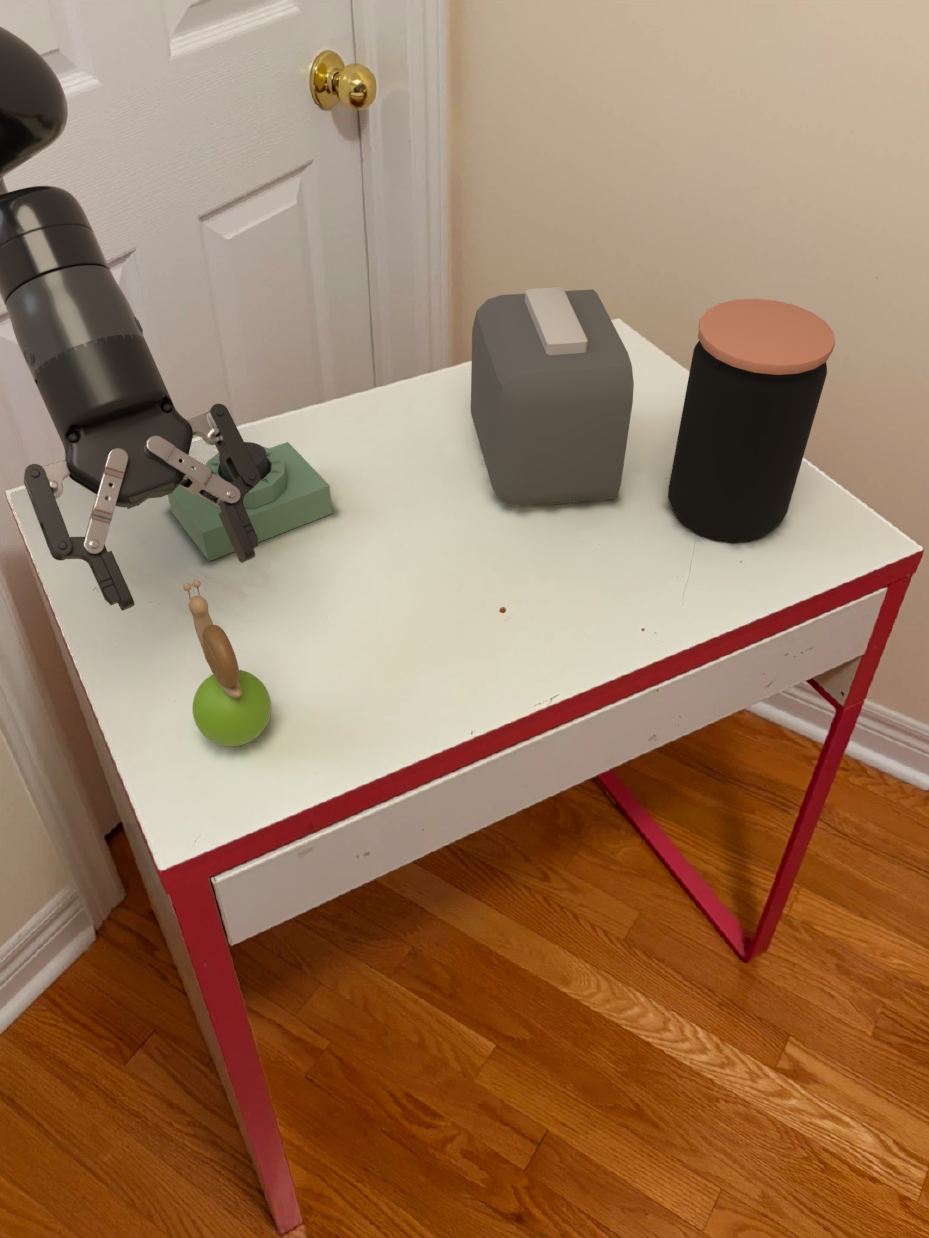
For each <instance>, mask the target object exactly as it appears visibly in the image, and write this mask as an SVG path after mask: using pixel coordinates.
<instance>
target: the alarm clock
mask: <svg viewBox="0 0 929 1238" xmlns="http://www.w3.org/2000/svg"><path fill="white" fill-rule="evenodd" d="M608 313H609V312H607V309H606V308H605V306H604V304H603V302H602V300H601V298H600V296H599V294H598V292H597V291H595V290H594V289H593V288H592V289H591V288H590V289H578V290H577V289H576V290H575V289H573V290H565V289H564V288H563V287H561V286H559V287H558V286H557V287H542V288H527V289H526V290H525V292H524V293H513V294H510V293H509V294H500V295H497V296H494V297H491V298H488V299H487V300H485V301H484V302H483V303H482V304H481V306H480V307H479V308H477V309H476V312H475V315H474V320H473V324H472V329H471V372H470V375H471V377H470V384H471V385H470V415H471V418H472V422H473V425H474V429H475V433H476V436H477V440H478V442H479V446H480V450H481V454H482V457H483V460H484V464H485V468H486V471H487V475H488V478H489V481H490V485H491V488H492V491H493V492H494V494H495V495H496V496H497V497H498V498H499V499H500V500H502V501H503V502H505V503H506V504H507V505H508V506H515V507H523V508H524V507H535V506H546V505H555V504H556V505H557V504H558V505H559V504H568V503H579V502H580V503H581V502H593V501H602V500H613V499H616V498H618V496H619V494H620V491H621V487H622V480H623V473H624V467H625V466H624V465H625V458H626V453H627V444H628V438H629V430H630V424H631V417H632V411H633V410H632V409H633V403H634V387H635V386H634V385H635V383H634V373H633V365H632V362H631V359H630V356H629V352H628V350H627V348H626V346H625V344H624V342H623V340H622V338H621V336H620V334H619V333H618V330H617V329H616V328H615V327H616V326H615V325H614V323H613V321H612V320H611V317H610V315H609V314H608Z"/></svg>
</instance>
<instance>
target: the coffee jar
mask: <svg viewBox="0 0 929 1238" xmlns="http://www.w3.org/2000/svg"><path fill="white" fill-rule="evenodd" d="M697 331H698V332H697V333H698V334H697V339H698V342H696V344H695V345H694V348H693V352H692V355H691V356H692V357H691V362H690V368H689V373H688V377H687V383H686V390H685V394H684V400H683V406H682V411H681V417H680V422H679V429H678V433H677V439H676V445H675V450H674V455H673V459H672V460H673V461H672V465H671V472H670V476H669V482H668V490H667V491H668V492H667V499H668V502H669V504H670V507H671V509H672V511H673V513H674V514H675V516H676V518H677V520H678V521H679V522H680V523H681V524H682V525H683V526H684V527H685V528H686V529H688V530H689V531H691V532H693V533H695V534H696V535H698V536H699V537H703V538H706V539H709V540H712V541H715V542H722V543H730V544H737V543H738V544H739V543H749V542H752V541H755V540H758V539H761V538H764V537H765V536H766V535H768V534H770V533H771V532H772V531H773V530H775V529H776V528H777V527H779V526H780V525H781V524H782V523H783V521H784V519H785V518H786V515H787V514H788V512H789V508H790V504H791V501H792V497H793V493H794V490H795V486H796V484H797V480H798V476H799V473H800V469H801V465H802V462H803V459H804V455H805V452H806V449H807V445H808V441H809V438H810V435H811V432H812V427H813V424H814V421H815V417H816V413H817V410H818V407H819V403H820V400H821V396H822V392H823V389H824V387H825V386H824V385H825V382H826V379H827V375H828V365H827V361H829V358H830V357H831V355H832V353H833V351H834V348H835V346H836V339H835V332H834V330H833V329H832V327H831V326H830V325H829V323H828V322H827V321H826V320H824V319H823V318H821V317H820V316H818V315H817V314H815V313H814V312H813V311H810V310H807V309H805V308H803V307H800V306H798V305H795V304H791V303H787V302H783V301H778V300H774V299H773V300H772V299H764V298H742V299H740V298H739V299H738V298H737V299H732V300H728V301H724V302H720V303H718V304H715V305H714V306H712V307H710V308H708V309H706V311H705V312H704V313H703V314H702V315H701V316H700V318H699V321H698V330H697Z"/></svg>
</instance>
